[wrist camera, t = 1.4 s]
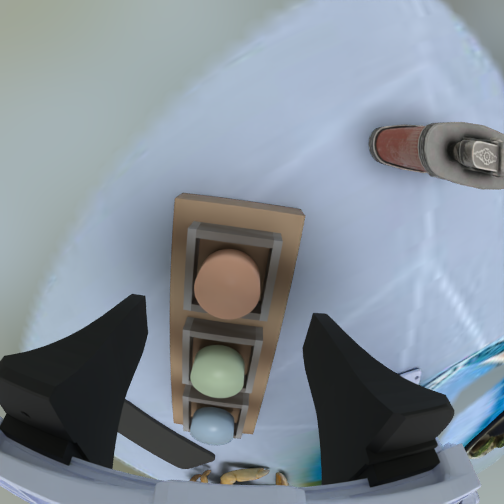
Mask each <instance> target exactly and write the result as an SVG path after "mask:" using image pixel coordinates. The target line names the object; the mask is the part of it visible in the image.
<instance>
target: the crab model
mask: <svg viewBox="0 0 504 504" xmlns="http://www.w3.org/2000/svg"><path fill="white" fill-rule="evenodd" d="M269 471H270V470H268V469H266V470H264V468H249V469H240V470H234V471H230V472H228V473H225V474H223V475H222V477H221V478H220V479H221V482H220V484H229V485H233V483H235V481H236V480H237V481H239V482H242V481H250V480H256V479H259V478H261V477H263V476H265V475H267V474H268V473H269ZM210 472H211V470H207V471H205V472H204V473H203V474H202V475H201V474H197V475H194V476H193V477H192V478H191V479H190V481H194V482H197V481H196V480H197V479H198V478H199V477H200V476H201V478H200V480H201V482H203V483H208V479H207V476H208V475H209V473H210ZM276 485H285V486H289V484H288V482H287V480H286V478H285V476H284V475H283V474H282V473H279V472H278V473H276Z"/></svg>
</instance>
